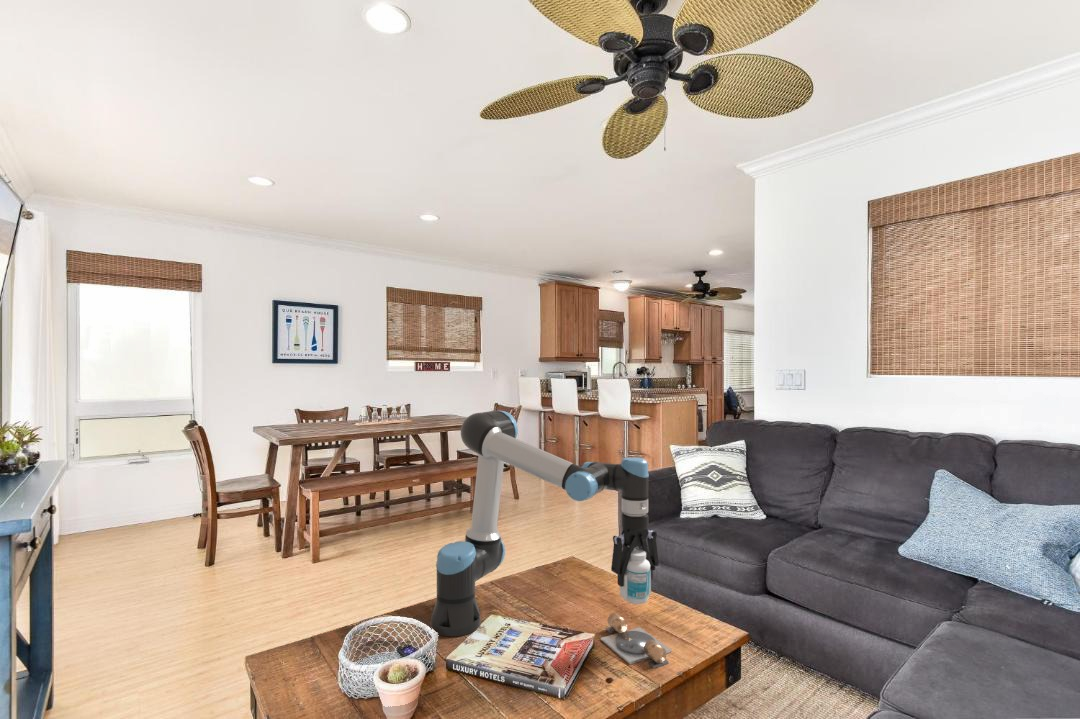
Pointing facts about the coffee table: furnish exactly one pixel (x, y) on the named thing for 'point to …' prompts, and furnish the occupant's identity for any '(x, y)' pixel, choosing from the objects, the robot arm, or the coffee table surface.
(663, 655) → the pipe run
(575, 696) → the coffee table surface
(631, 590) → the pill bottle
